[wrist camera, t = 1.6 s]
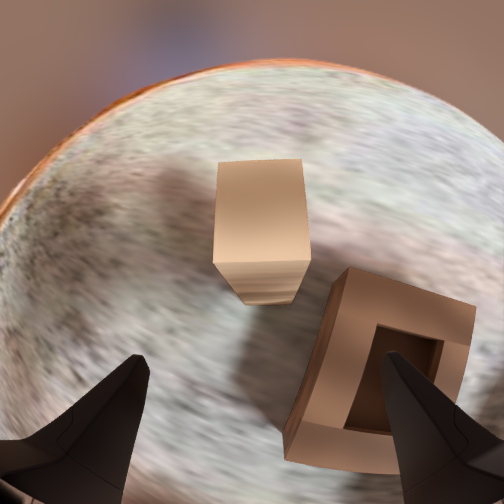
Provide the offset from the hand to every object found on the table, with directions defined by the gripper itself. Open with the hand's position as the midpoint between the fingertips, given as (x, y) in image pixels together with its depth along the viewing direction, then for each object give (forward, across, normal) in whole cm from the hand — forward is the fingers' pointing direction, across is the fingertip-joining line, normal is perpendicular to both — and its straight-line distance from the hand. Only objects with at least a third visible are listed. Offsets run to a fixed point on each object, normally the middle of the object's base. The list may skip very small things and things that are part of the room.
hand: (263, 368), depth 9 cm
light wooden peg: (+13, 0, +4) cm, 14 cm away
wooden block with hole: (+7, -8, +10) cm, 15 cm away
